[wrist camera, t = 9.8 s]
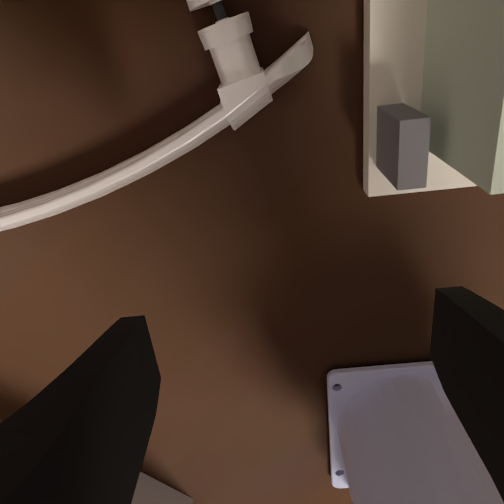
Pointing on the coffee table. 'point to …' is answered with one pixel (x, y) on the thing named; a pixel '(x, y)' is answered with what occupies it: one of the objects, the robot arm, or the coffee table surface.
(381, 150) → the plate with corner feet
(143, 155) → the door handle
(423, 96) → the long rectangular block
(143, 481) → the hinge
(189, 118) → the coffee table surface
